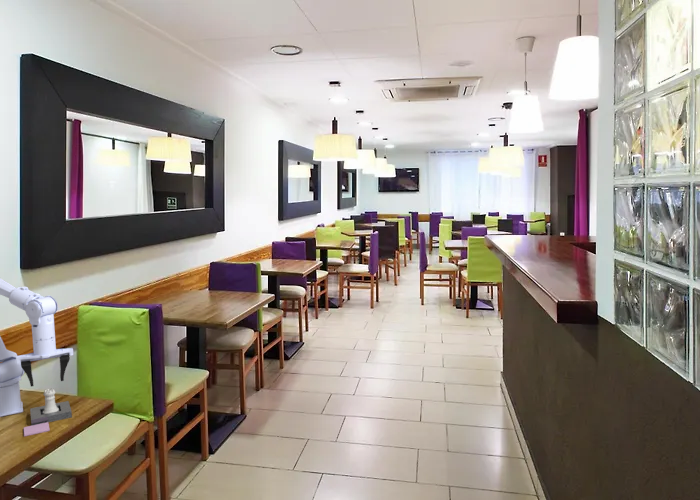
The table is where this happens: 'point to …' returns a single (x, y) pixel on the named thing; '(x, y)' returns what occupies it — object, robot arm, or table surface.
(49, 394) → the rook chess piece
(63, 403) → the socket block
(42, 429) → the mat
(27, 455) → the table surface
